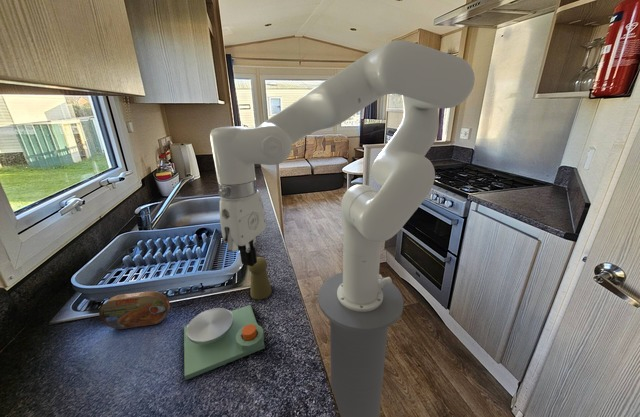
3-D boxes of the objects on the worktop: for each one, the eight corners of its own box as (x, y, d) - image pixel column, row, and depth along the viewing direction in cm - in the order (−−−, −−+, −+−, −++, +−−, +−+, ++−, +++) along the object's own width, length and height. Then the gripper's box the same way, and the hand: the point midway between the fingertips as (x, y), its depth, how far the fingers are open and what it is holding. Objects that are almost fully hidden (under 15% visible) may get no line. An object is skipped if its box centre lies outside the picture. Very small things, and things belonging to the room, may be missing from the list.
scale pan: (230, 305, 67) (229, 302, 66) (236, 333, 58) (236, 330, 58) (186, 319, 63) (186, 316, 62) (187, 351, 54) (186, 348, 54)
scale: (252, 307, 70) (251, 298, 69) (267, 349, 58) (266, 338, 57) (185, 330, 63) (182, 320, 62) (185, 382, 51) (182, 371, 50)
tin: (104, 331, 64) (92, 303, 60) (112, 321, 66) (101, 294, 63) (170, 322, 66) (162, 295, 62) (174, 313, 68) (167, 287, 65)
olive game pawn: (265, 301, 72) (260, 267, 68) (246, 297, 74) (241, 263, 70) (275, 287, 77) (272, 255, 73) (257, 284, 79) (253, 252, 75)
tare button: (254, 328, 60) (254, 322, 59) (258, 337, 58) (257, 331, 57) (241, 333, 59) (240, 327, 58) (244, 343, 56) (243, 337, 56)
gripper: (228, 202, 47) (242, 286, 53) (272, 180, 60) (279, 250, 66) (196, 198, 49) (214, 278, 56) (245, 178, 62) (254, 245, 69)
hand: (249, 263), depth 61 cm, fingers closed
